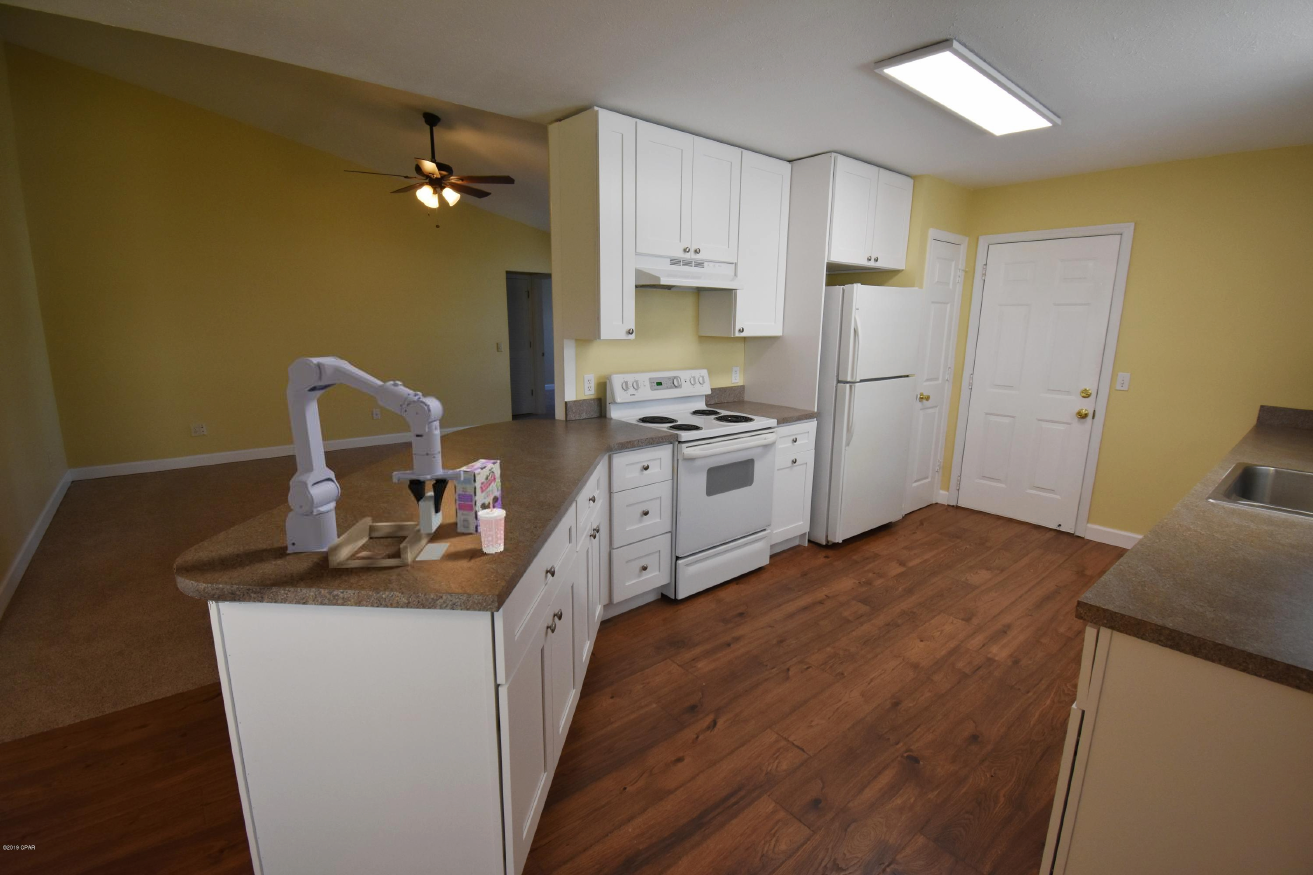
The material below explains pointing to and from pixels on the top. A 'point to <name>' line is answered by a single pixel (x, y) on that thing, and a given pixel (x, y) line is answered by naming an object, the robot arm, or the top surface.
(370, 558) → the offcut short
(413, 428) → the robot arm
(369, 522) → the rack
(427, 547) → the mat
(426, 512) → the panel
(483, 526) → the beverage cup
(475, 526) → the candy box
